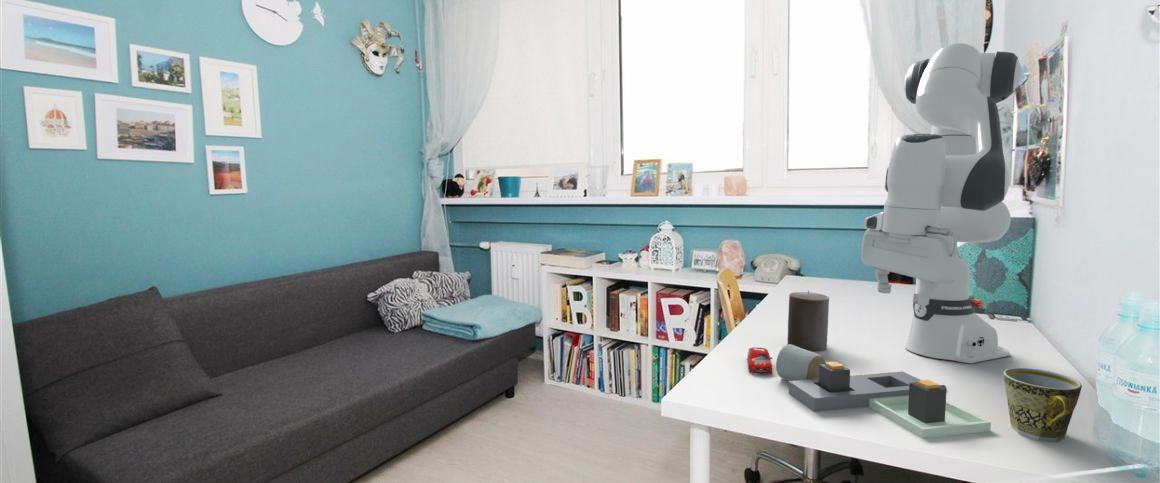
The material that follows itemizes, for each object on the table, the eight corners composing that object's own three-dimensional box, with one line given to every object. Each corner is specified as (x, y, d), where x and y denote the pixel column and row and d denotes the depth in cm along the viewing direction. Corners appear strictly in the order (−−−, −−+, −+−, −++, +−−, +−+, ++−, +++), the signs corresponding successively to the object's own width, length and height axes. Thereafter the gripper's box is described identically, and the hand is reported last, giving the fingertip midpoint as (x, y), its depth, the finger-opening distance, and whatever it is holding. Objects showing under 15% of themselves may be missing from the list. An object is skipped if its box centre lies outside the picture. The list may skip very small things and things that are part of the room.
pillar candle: (788, 350, 139) (790, 293, 137) (785, 339, 148) (787, 286, 147) (829, 354, 136) (832, 295, 135) (824, 342, 146) (826, 287, 144)
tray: (929, 402, 106) (929, 392, 106) (990, 432, 93) (990, 422, 93) (868, 408, 104) (868, 398, 104) (922, 440, 91) (922, 429, 91)
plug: (927, 412, 101) (928, 377, 100) (944, 421, 97) (946, 385, 96) (907, 414, 100) (909, 379, 99) (925, 423, 96) (926, 387, 95)
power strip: (926, 382, 116) (928, 348, 115) (962, 399, 107) (964, 362, 106) (788, 395, 111) (789, 359, 110) (814, 413, 102) (815, 374, 101)
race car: (773, 378, 121) (773, 361, 121) (747, 376, 123) (748, 359, 122) (770, 359, 134) (770, 343, 133) (747, 357, 135) (747, 342, 135)
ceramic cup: (989, 418, 98) (993, 365, 97) (1056, 425, 96) (1060, 370, 94) (1025, 453, 86) (1029, 393, 85) (1102, 461, 83) (1108, 399, 82)
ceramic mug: (809, 392, 112) (810, 356, 111) (774, 381, 119) (775, 347, 118) (836, 381, 118) (837, 347, 118) (801, 371, 125) (803, 338, 124)
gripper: (974, 230, 89) (963, 312, 90) (887, 219, 109) (879, 287, 110) (940, 229, 88) (930, 312, 89) (858, 218, 108) (851, 286, 109)
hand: (901, 298), depth 100 cm, fingers open, 8 cm apart
